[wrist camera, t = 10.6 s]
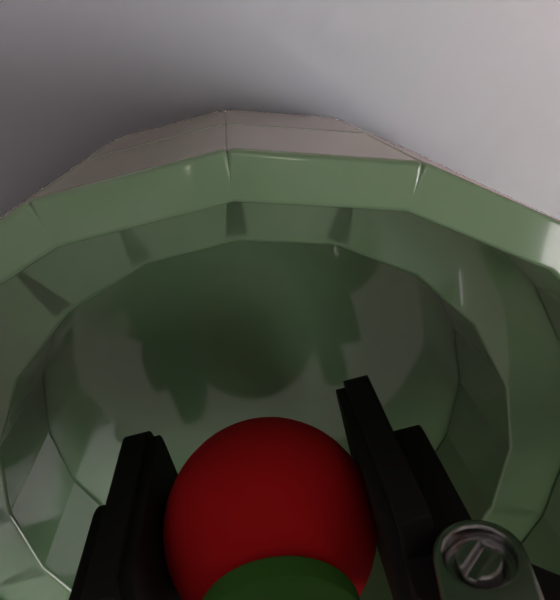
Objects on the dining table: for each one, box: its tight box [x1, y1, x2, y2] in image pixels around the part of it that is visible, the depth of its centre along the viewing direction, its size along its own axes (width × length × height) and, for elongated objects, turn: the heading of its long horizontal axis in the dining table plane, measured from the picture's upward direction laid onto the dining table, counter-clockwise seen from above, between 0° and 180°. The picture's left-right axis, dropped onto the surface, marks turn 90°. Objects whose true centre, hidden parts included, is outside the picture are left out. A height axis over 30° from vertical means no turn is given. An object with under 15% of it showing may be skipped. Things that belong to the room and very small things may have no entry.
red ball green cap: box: [163, 417, 377, 600], centre depth 10 cm, size 4×4×4 cm
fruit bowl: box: [0, 110, 560, 600], centre depth 11 cm, size 14×14×6 cm
